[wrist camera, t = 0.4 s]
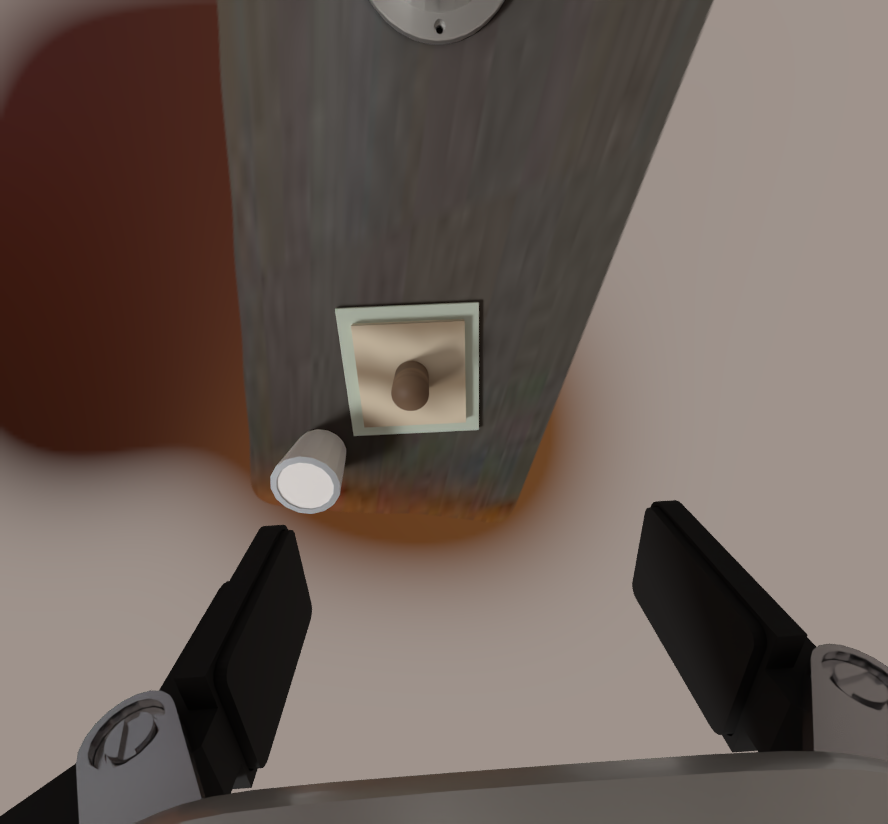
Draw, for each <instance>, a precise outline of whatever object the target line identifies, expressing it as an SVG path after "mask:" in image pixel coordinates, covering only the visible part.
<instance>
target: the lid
mask: <svg viewBox="0 0 888 824" xmlns="http://www.w3.org/2000/svg"><path fill="white" fill-rule="evenodd" d="M351 331H352V339H353V346H354V354H355V361H356V369H357V376H358V384H359V391H360V399H361V406H362V414H363V421H364V428H365V427H385V426H405V425H425V424H445V423H465V422H466V382H465V321H464V319H447V320H425V321H403V322H381V323H358V324H352V325H351Z"/></svg>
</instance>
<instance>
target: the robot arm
mask: <svg viewBox="0 0 888 824" xmlns="http://www.w3.org/2000/svg"><path fill="white" fill-rule="evenodd" d="M369 1H370V2H371V4H372V6H373V7H374V8H375V9H376V11H377V12H378V13H379V14H380V16H381V17H382V18H383V19H384V20H385V21H386V22H387V23H388V24H389V25H390V26H392V27H393V28H394V29H395V30H396V31H398V32H399V33H401V34H403V35H405V36H406V37H408V38H410V39H412V40H415V41H418V42H422V43H425V44H434V45H445V44H450V43H454V42H459V41H461V40H463V39H465V38H467V37H469V36H471V35H473V34H475V33H476V32H477V31H479V30H480V29H481V28H482V27H484V26H485V25H486V24H487V23H488V22H489V21H490V20H491V19H492V17H493V16H494V15H495V14H496V13H497V12H498V10H499V9H500V7H501V6H502V4H503V2H504V1H505V0H369ZM437 28H441V29H442V30H443V32H442V34H438V33H437V32H436V30H437ZM632 587H633V592H634V595H635V597H636V599H637V601H638V603H639V605H640V606H641V608H642V609H643V611H644V613H645V615H646V616H647V618H648V620H649V622H650V623H651V625H652V627H653V628H654V630H655V632H656V634H657V635H658V637H659V639H660V641H661V642H662V644H663V645H664V647H665V649H666V651H667V653H668V654H669V656H670V658H671V660H672V661H673V663H674V665H675V666H676V668H677V670H678V671H679V673H680V675H681V676H682V678H683V680H684V682H685V684H686V685H687V687H688V689H689V691H690V692H691V694H692V696H693V697H694V699H695V701H696V703H697V704H698V706H699V708H700V709H701V711H702V713H703V715H704V716H705V718H706V720H707V722H708V723H709V725H710V726H711V728H712V729H713V731H714V732H715V733H717V734H718V735H722V736H723V737H724V739H725V741H726V743H727V744H728V746H729V748H730V749H731V751H732V752H744V751H758V752H756V753H734V754H713V755H696V756H681V757H666V758H651V759H636V760H622V761H607V762H592V763H579V764H565V765H551V766H538V767H523V768H509V769H497V770H482V771H469V772H457V773H443V774H430V775H418V776H406V777H392V778H380V779H367V780H355V781H342V782H330V783H320V784H309V785H300V786H290V787H280V788H269V789H260V790H251V791H244V792H238V793H232V794H231V791H232V789H240V788H251V787H252V784H253V781H254V778H255V775H256V772H257V769H258V768H263V767H264V766H265V764H266V763H267V760H268V757H269V754H270V751H271V748H272V744H273V741H274V737H275V734H276V731H277V728H278V725H279V721H280V718H281V715H282V712H283V708H284V705H285V702H286V698H287V695H288V692H289V688H290V685H291V682H292V679H293V676H294V672H295V669H296V666H297V662H298V659H299V656H300V653H301V649H302V646H303V643H304V640H305V636H306V633H307V630H308V626H309V623H310V620H311V614H312V605H311V600H310V596H309V592H308V587H307V583H306V579H305V575H304V571H303V566H302V562H301V558H300V554H299V550H298V546H297V542H296V537H295V533H294V532H293V530H288V529H287V527H286V526H285V525H274V526H263V527H261V528H260V529H259V531H258V533H257V534H256V536H255V538H254V540H253V541H252V543H251V545H250V546H249V548H248V550H247V552H246V553H245V555H244V557H243V559H242V560H241V562H240V564H239V565H238V567H237V569H236V571H235V572H234V574H233V576H232V578H231V579H230V581H227V582H226V583H224V584H223V585H222V586H221V588H220V589H219V590H218V592H217V594H216V595H215V597H214V599H213V600H212V602H211V604H210V606H209V607H208V609H207V611H206V612H205V614H204V616H203V617H202V619H201V621H200V622H199V624H198V626H197V627H196V629H195V631H194V633H193V634H192V636H191V638H190V639H189V641H188V643H187V644H186V646H185V648H184V649H183V651H182V653H181V654H180V656H179V658H178V659H177V661H176V663H175V665H174V666H173V668H172V670H171V671H170V673H169V675H168V676H167V678H166V680H165V681H164V683H163V685H162V686H161V688H160V690H159V691H147V692H143V693H140V694H137V695H134V696H132V697H130V698H128V699H126V700H124V701H122V702H121V703H120V704H118V705H117V706H115V707H114V708H113V709H111V710H110V711H108V712H107V713H106V714H105V715H104V716H103V717H102V718H101V719H100V720H99V721H98V722H97V723H96V724H95V725H94V726H93V728H92V729H91V730H90V732H89V733H88V734H87V736H86V737H85V739H84V741H83V743H82V745H81V747H80V749H79V751H78V755H77V762H76V764H75V765H73V766H72V767H70V768H69V769H67V770H66V771H65V772H63V773H62V774H60V775H59V776H57V777H56V778H55V779H53V780H52V781H50V782H49V783H47V784H46V785H44V786H43V787H42V788H40V789H39V790H37V791H36V792H34V793H33V794H32V795H30V796H29V797H27V798H26V799H24V800H23V801H22V802H20V803H19V804H17V805H16V806H14V807H13V808H11V809H10V810H9V811H7V812H6V813H5V814H3V815H2V816H0V824H888V667H887V666H886V665H884V664H883V663H881V662H880V661H878V660H877V659H875V658H873V657H871V656H869V655H867V654H865V653H863V652H861V651H859V650H856V649H853V648H849V647H846V646H843V645H836V644H824V645H819V646H818V647H816V646H815V645H814V644H813V643H812V642H811V641H810V640H809V639H808V638H807V634H806V633H805V632H804V631H803V630H802V629H801V627H799V625H798V624H797V623H796V622H795V621H794V620H793V619H792V618H791V617H790V616H789V615H788V614H787V613H786V612H785V611H784V610H783V609H782V608H781V607H780V606H779V605H778V604H777V602H776V601H775V600H774V599H773V598H772V597H771V596H770V595H769V594H768V593H767V592H766V591H765V590H764V589H763V588H762V587H761V586H760V585H759V584H758V583H757V582H756V581H755V580H754V579H753V577H752V576H750V574H749V573H748V572H747V571H746V570H745V569H744V568H743V567H742V566H741V565H740V564H739V563H738V562H737V561H736V560H735V559H734V558H733V557H732V556H731V555H730V554H729V553H728V552H727V551H726V550H725V548H724V547H723V546H722V545H721V544H720V543H719V542H718V541H717V540H716V539H715V538H714V537H713V536H712V535H711V534H710V533H709V532H708V531H707V530H706V529H705V528H704V527H703V526H702V525H701V524H700V522H699V521H698V520H697V519H696V518H695V517H694V516H693V515H692V514H691V513H690V512H689V511H688V510H687V509H686V508H685V507H684V506H683V505H682V504H681V503H680V502H679V501H676V500H674V501H658V502H653V504H652V505H651V508H647V509H646V511H645V515H644V521H643V526H642V532H641V538H640V543H639V549H638V554H637V560H636V566H635V571H634V577H633V583H632Z"/></svg>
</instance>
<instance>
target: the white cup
mask: <svg viewBox="0 0 888 824" xmlns="http://www.w3.org/2000/svg"><path fill="white" fill-rule="evenodd" d="M345 460H346V447H345V445H344V442H343V441H342V440H341V439H340V438H339V437H338V436H337V435H336V434H334V433H332V432H330V431H328V430H320V429H316V430H312V431H308V432H307V433H305V434H304V435H303V436H301V437H300V438H299V440H298V441H297V442H296V443H295V444H294V446H293V447H292V448H291V449H290V450H289V452H288V453H287V454H286V455H285V456H284V457H283V459H282V460H281V461H280V462H279V463H278V465H277V466H276V467H275V469H274V471H273V473H272V475H271V489H272V491H273V493H274V495H275V497H276V499H277V500H278V501H280V502H281V503H282V504H283V505H284V506H285V507H287V508H289V509H292V510H294V511H296V512H299V513H310V514H313V513H317V512H321V511H325V510H326V509H328V508H329V507H331V506H332V505H334V503H335V502H336V500H337V499H338V497H339V495H340V490H341V484H342V478H343V472H344V466H345Z"/></svg>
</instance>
